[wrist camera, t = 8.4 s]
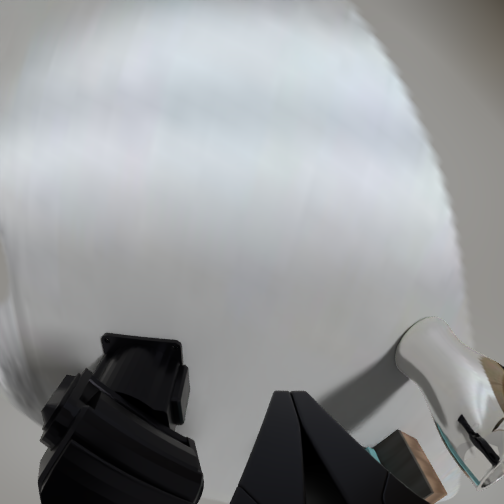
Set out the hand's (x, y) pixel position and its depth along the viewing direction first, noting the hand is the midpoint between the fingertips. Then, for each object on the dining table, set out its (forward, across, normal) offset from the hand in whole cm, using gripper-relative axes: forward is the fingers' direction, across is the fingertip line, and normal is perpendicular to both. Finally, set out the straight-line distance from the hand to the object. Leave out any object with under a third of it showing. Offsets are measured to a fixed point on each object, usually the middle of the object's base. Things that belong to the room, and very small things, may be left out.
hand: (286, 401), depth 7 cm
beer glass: (+13, -16, +7) cm, 22 cm away
